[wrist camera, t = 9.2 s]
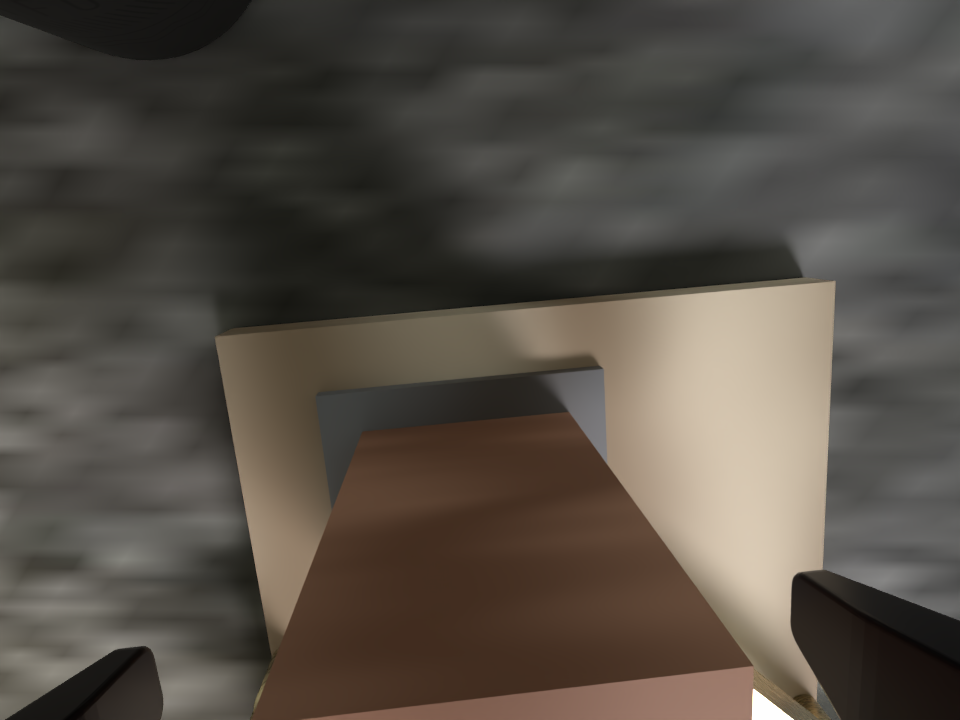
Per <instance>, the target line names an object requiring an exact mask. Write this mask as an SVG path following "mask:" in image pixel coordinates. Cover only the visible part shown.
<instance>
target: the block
mask: <svg viewBox="0 0 960 720" xmlns="http://www.w3.org/2000/svg"><path fill="white" fill-rule="evenodd" d="M753 679H754V666H753V664H752V663H751V662H750V660H749V659H748V657H747V656H746V655H745V653H744V652H743V651H742V649H741V648H740V646H739V645H738V644H737V642H736V641H735V640H734V638H733V637H732V635H731V634H730V633H729V631H728V630H727V629H726V627H725V626H724V624H723V623H722V622H721V620H720V619H719V618H718V616H717V615H716V613H715V612H714V611H713V609H712V608H711V607H710V605H709V604H708V602H707V601H706V600H705V598H704V597H703V595H702V594H701V593H700V591H699V590H698V589H697V587H696V586H695V584H694V583H693V582H692V580H691V579H690V578H689V576H688V575H687V573H686V572H685V571H684V569H683V568H682V567H681V565H680V564H679V562H678V561H677V560H676V558H675V557H674V556H673V554H672V553H671V551H670V550H669V549H668V547H667V546H666V545H665V543H664V542H663V540H662V539H661V538H660V536H659V535H658V534H657V532H656V531H655V529H654V528H653V527H652V525H651V524H650V523H649V521H648V520H647V518H646V517H645V516H644V514H643V513H642V512H641V510H640V509H639V507H638V506H637V505H636V503H635V502H634V501H633V499H632V498H631V496H630V495H629V494H628V492H627V491H626V490H625V488H624V487H623V485H622V484H621V483H620V481H619V480H618V478H617V477H616V476H615V474H614V473H613V472H612V470H611V469H610V467H609V466H608V465H607V463H606V462H605V461H604V459H603V458H602V456H601V455H600V454H599V452H598V451H597V450H596V448H595V447H594V445H593V444H592V443H591V441H590V440H589V439H588V437H587V436H586V434H585V433H584V432H583V430H582V429H581V428H580V426H579V425H578V423H577V422H576V421H575V419H574V418H573V417H572V415H571V414H570V412H563V413H552V414H542V415H531V416H521V417H510V418H500V419H489V420H479V421H468V422H458V423H447V424H437V425H426V426H416V427H405V428H395V429H384V430H374V431H363V432H362V434H361V436H360V439H359V442H358V444H357V447H356V449H355V452H354V455H353V457H352V460H351V462H350V465H349V468H348V470H347V473H346V475H345V478H344V481H343V483H342V486H341V488H340V491H339V494H338V496H337V499H336V501H335V504H334V507H333V509H332V512H331V514H330V517H329V520H328V522H327V525H326V527H325V530H324V533H323V535H322V538H321V540H320V543H319V546H318V548H317V551H316V553H315V556H314V559H313V561H312V564H311V566H310V569H309V572H308V574H307V577H306V579H305V582H304V585H303V587H302V590H301V592H300V595H299V598H298V600H297V603H296V605H295V608H294V611H293V613H292V616H291V618H290V621H289V624H288V626H287V629H286V631H285V634H284V636H283V639H282V642H281V644H280V647H279V649H278V652H277V655H276V657H275V660H274V662H273V665H272V668H271V670H270V673H269V675H268V678H267V681H266V683H265V686H264V688H263V691H262V694H261V696H260V699H259V701H258V704H257V707H256V709H255V712H254V714H253V717H252V720H753Z"/></svg>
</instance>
